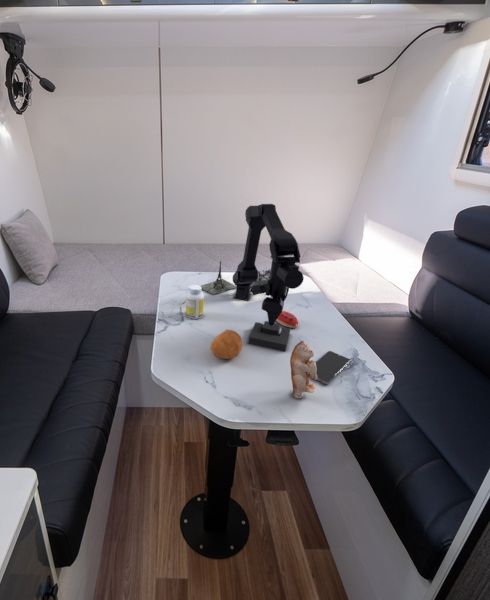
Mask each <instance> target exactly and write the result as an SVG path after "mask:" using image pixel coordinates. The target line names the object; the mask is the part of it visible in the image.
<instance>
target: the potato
mask: <svg viewBox="0 0 490 600" xmlns="http://www.w3.org/2000/svg"><path fill="white" fill-rule="evenodd" d="M242 348H243V340H242V336H241V334H239V333H238V332H237V331H235V330H233V329H225V330H224V331H222V332H221V333H219V334H218V335H217V336H216V337H215V338H214V339H213V340H212V341H211V344H210V351H211V354H213V356H215V357H217V358H218V359H219V358H220V359H224V360H229V359H233V358H235V357H238V356H239V354H240V353H241V352H242Z"/></svg>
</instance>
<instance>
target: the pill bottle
mask: <svg viewBox="0 0 490 600" xmlns="http://www.w3.org/2000/svg"><path fill="white" fill-rule="evenodd" d="M201 286H202V285H199V284H191V285H189V286H188V292H187V293H186V295H185V315H186V317H187V318H189V319H194V320H195V319H196V320H197V319H200V318H202V317H203V316H204V302H205V301H204V300H205V295H204V293H203V292H202V291H203V289H202V287H201Z"/></svg>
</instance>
